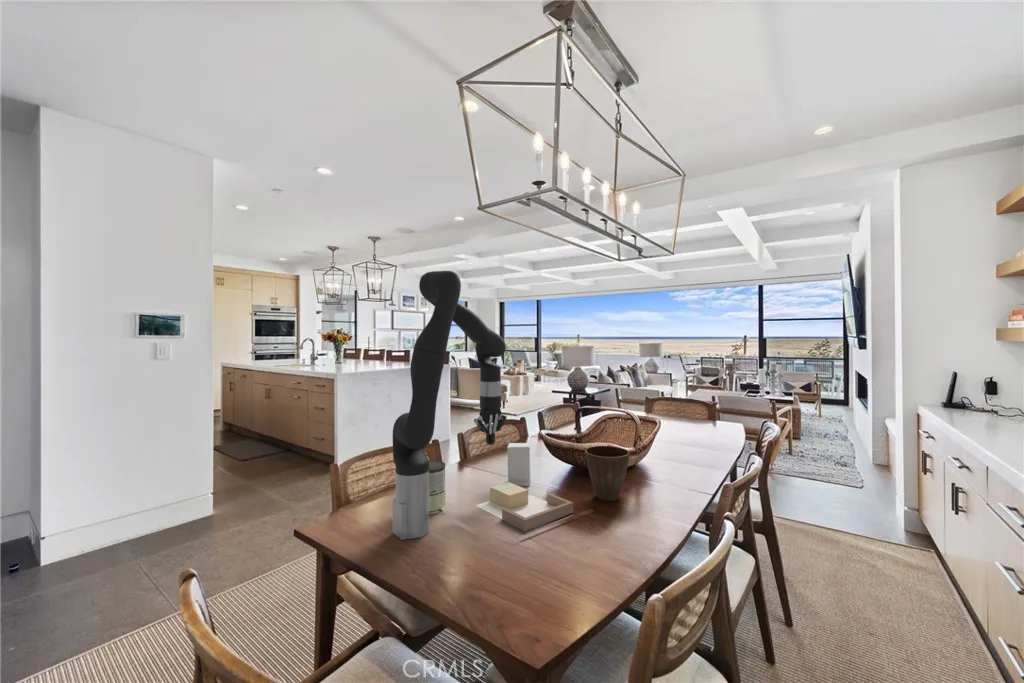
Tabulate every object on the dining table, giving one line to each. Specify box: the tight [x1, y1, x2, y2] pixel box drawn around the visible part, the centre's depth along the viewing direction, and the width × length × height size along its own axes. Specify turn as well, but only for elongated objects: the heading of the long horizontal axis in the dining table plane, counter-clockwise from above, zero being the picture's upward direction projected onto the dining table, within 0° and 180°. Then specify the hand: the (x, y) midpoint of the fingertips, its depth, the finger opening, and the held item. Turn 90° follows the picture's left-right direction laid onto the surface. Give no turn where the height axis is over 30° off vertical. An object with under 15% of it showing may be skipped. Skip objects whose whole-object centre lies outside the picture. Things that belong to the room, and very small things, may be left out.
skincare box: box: [506, 442, 532, 487], centre depth 155 cm, size 8×7×16 cm
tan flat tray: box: [475, 493, 574, 536], centre depth 131 cm, size 20×24×4 cm
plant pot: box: [584, 445, 630, 502], centre depth 144 cm, size 15×15×16 cm
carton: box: [489, 481, 529, 510], centre depth 136 cm, size 8×10×5 cm
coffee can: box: [429, 460, 446, 516], centre depth 134 cm, size 10×10×14 cm
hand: (490, 444), depth 144 cm, fingers closed
